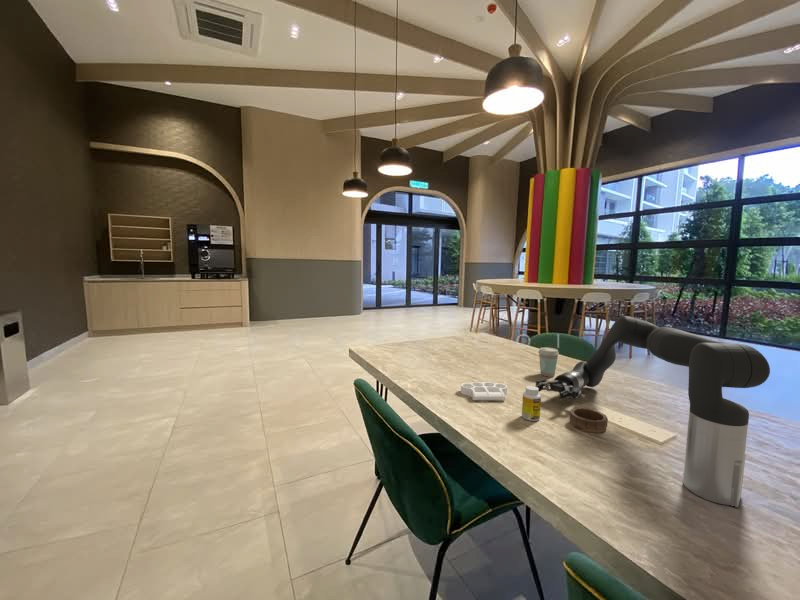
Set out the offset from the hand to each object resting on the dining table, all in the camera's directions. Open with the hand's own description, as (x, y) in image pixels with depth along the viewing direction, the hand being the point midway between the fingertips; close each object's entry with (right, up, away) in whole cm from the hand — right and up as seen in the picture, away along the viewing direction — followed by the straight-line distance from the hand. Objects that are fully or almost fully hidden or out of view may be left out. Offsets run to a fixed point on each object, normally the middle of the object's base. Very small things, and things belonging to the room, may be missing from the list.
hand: (548, 392), depth 116 cm
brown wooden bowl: (+7, -7, -11) cm, 15 cm away
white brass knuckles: (-18, -5, +14) cm, 24 cm away
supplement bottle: (-8, -7, -6) cm, 12 cm away
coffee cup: (+16, -2, +37) cm, 41 cm away
